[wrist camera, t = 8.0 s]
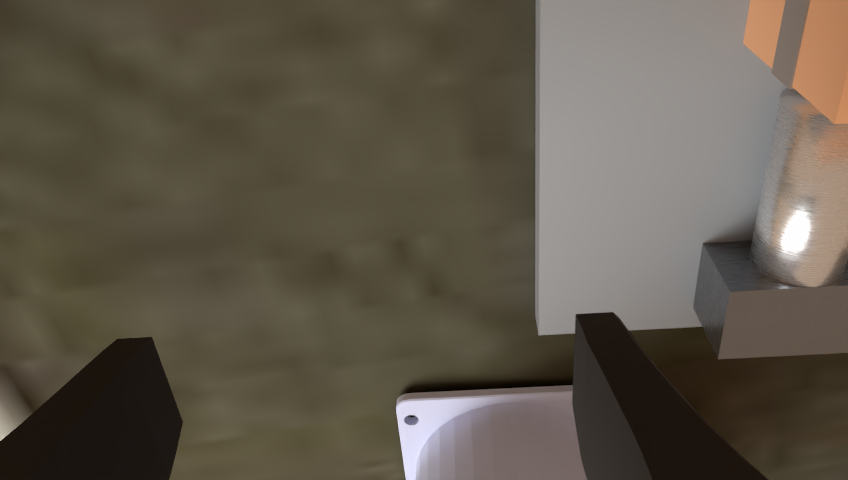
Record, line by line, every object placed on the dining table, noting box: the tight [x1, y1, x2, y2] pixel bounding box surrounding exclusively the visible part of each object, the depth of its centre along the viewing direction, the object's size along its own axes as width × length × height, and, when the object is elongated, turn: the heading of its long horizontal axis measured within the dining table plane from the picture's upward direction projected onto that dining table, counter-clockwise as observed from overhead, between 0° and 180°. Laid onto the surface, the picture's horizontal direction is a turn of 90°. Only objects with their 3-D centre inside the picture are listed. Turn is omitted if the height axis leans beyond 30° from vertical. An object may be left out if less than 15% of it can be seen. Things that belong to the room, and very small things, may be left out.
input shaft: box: [693, 88, 848, 359], centre depth 20 cm, size 7×4×3 cm, turn 5°
